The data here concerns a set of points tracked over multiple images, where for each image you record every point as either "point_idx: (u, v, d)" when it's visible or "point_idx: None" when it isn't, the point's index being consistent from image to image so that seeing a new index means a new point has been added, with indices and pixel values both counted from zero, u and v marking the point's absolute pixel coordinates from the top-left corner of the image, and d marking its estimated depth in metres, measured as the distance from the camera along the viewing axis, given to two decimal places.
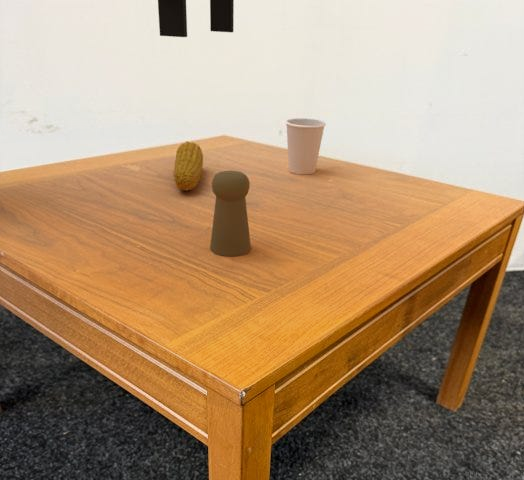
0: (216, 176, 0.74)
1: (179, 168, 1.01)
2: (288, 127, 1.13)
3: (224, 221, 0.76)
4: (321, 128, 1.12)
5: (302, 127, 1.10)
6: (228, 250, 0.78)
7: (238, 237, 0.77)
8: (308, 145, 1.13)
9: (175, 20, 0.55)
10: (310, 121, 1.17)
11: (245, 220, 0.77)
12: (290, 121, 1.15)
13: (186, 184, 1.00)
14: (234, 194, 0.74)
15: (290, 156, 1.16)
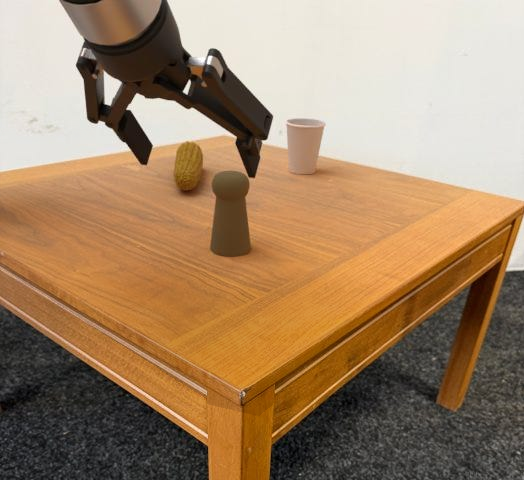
0: (216, 176, 0.74)
1: (179, 168, 1.01)
2: (288, 127, 1.13)
3: (224, 221, 0.76)
4: (321, 128, 1.12)
5: (302, 127, 1.10)
6: (228, 250, 0.78)
7: (238, 237, 0.77)
8: (308, 145, 1.13)
9: (256, 156, 0.61)
10: (310, 121, 1.17)
11: (245, 220, 0.77)
12: (290, 121, 1.15)
13: (186, 184, 1.00)
14: (234, 194, 0.74)
15: (290, 156, 1.16)
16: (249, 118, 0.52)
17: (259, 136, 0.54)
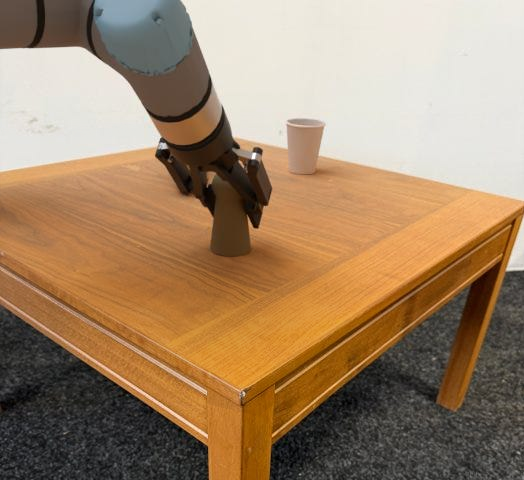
0: (216, 176, 0.74)
1: None
2: (288, 127, 1.13)
3: (224, 221, 0.76)
4: (321, 128, 1.12)
5: (302, 127, 1.10)
6: (228, 250, 0.78)
7: (238, 237, 0.77)
8: (308, 145, 1.13)
9: None
10: (310, 121, 1.17)
11: (245, 220, 0.77)
12: (290, 121, 1.15)
13: None
14: (234, 194, 0.74)
15: (290, 156, 1.16)
16: (263, 193, 0.70)
17: (262, 203, 0.73)
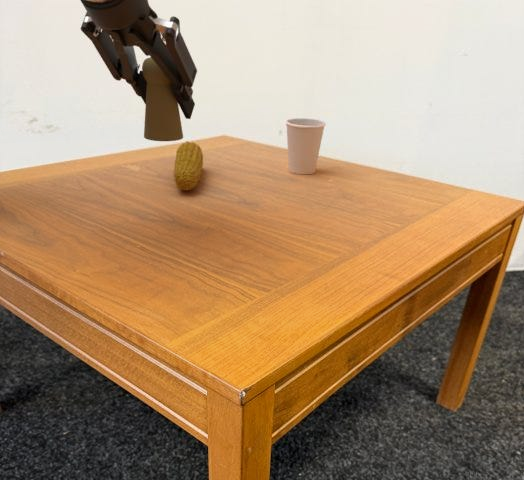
0: (145, 60, 0.79)
1: (179, 168, 1.01)
2: (288, 127, 1.13)
3: (154, 105, 0.81)
4: (321, 128, 1.12)
5: (302, 127, 1.10)
6: (159, 134, 0.82)
7: (169, 122, 0.82)
8: (308, 145, 1.13)
9: (190, 102, 0.84)
10: (310, 121, 1.17)
11: (175, 106, 0.82)
12: (290, 121, 1.15)
13: (186, 184, 1.00)
14: (161, 77, 0.78)
15: (290, 156, 1.16)
16: (185, 70, 0.74)
17: (187, 83, 0.77)
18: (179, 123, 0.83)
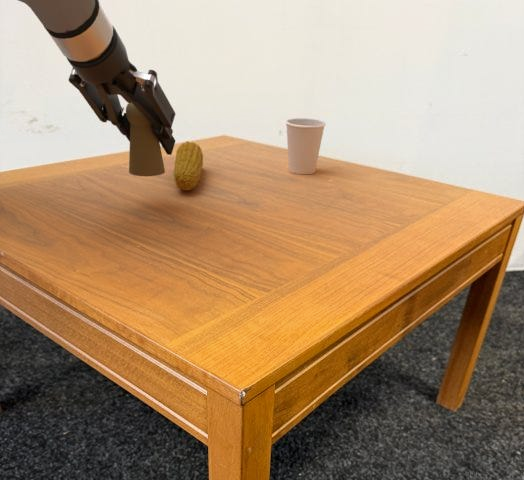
0: (128, 104, 0.86)
1: (179, 168, 1.01)
2: (288, 127, 1.13)
3: (137, 144, 0.88)
4: (321, 128, 1.12)
5: (302, 127, 1.10)
6: (142, 170, 0.90)
7: (151, 159, 0.90)
8: (308, 145, 1.13)
9: (171, 140, 0.92)
10: (310, 121, 1.17)
11: (156, 144, 0.89)
12: (290, 121, 1.15)
13: (186, 184, 1.00)
14: (143, 119, 0.86)
15: (290, 156, 1.16)
16: (164, 114, 0.82)
17: (166, 125, 0.85)
18: (161, 159, 0.91)
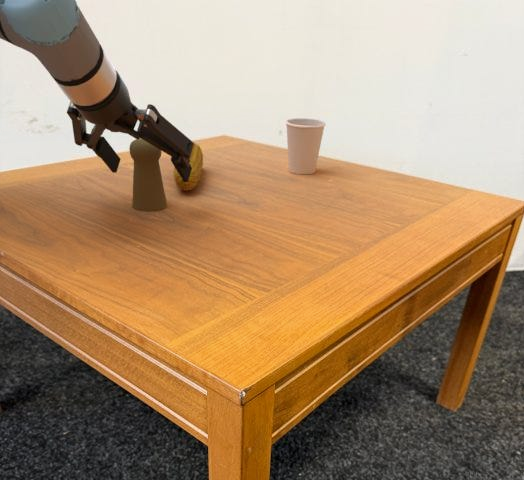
0: (132, 142, 0.90)
1: None
2: (288, 127, 1.13)
3: (140, 180, 0.91)
4: (321, 128, 1.12)
5: (302, 127, 1.10)
6: (145, 205, 0.93)
7: (153, 195, 0.93)
8: (308, 145, 1.13)
9: (188, 167, 0.92)
10: (310, 121, 1.17)
11: (159, 180, 0.93)
12: (290, 121, 1.15)
13: (186, 184, 1.00)
14: (146, 157, 0.89)
15: (290, 156, 1.16)
16: (176, 145, 0.82)
17: (184, 156, 0.85)
18: (163, 194, 0.94)
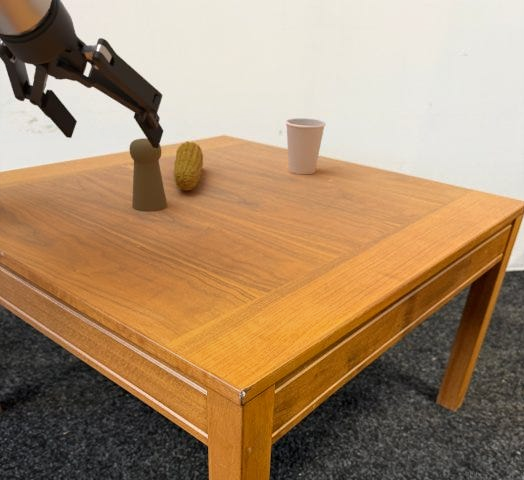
0: (132, 142, 0.90)
1: (179, 168, 1.01)
2: (288, 127, 1.13)
3: (140, 180, 0.91)
4: (321, 128, 1.12)
5: (302, 127, 1.10)
6: (145, 205, 0.93)
7: (153, 195, 0.93)
8: (308, 145, 1.13)
9: (157, 129, 0.74)
10: (310, 121, 1.17)
11: (159, 180, 0.93)
12: (290, 121, 1.15)
13: (186, 184, 1.00)
14: (146, 157, 0.89)
15: (290, 156, 1.16)
16: (138, 95, 0.64)
17: (150, 111, 0.67)
18: (163, 194, 0.94)
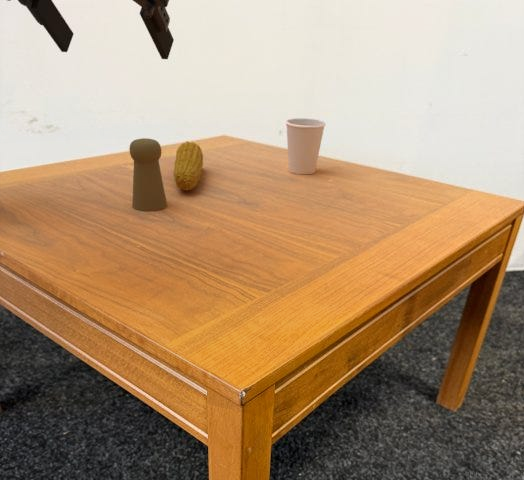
0: (132, 142, 0.90)
1: (179, 168, 1.01)
2: (288, 127, 1.13)
3: (140, 180, 0.91)
4: (321, 128, 1.12)
5: (302, 127, 1.10)
6: (145, 205, 0.93)
7: (153, 195, 0.93)
8: (308, 145, 1.13)
9: (167, 36, 0.63)
10: (310, 121, 1.17)
11: (159, 180, 0.93)
12: (290, 121, 1.15)
13: (186, 184, 1.00)
14: (146, 157, 0.89)
15: (290, 156, 1.16)
16: None
17: (159, 2, 0.56)
18: (163, 194, 0.94)
